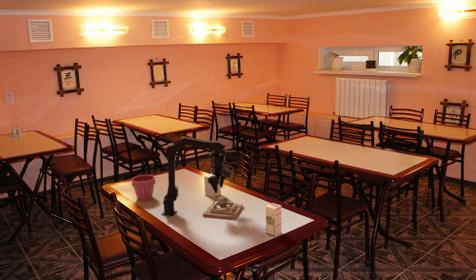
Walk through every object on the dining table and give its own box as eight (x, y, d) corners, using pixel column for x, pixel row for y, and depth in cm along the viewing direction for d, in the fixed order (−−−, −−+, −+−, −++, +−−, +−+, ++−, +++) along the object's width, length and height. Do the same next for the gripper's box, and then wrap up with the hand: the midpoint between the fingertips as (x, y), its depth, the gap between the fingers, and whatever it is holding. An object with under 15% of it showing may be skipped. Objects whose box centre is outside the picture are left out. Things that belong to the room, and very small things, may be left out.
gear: (228, 212, 236) (227, 201, 234) (214, 211, 238) (213, 200, 237) (232, 207, 244) (232, 196, 242) (218, 205, 246) (218, 195, 244)
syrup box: (282, 232, 213) (282, 205, 210) (274, 236, 209) (274, 208, 205) (272, 229, 217) (272, 202, 213) (265, 233, 212) (265, 205, 209)
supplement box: (221, 194, 269) (220, 175, 266) (212, 197, 264) (211, 178, 261) (213, 191, 274) (212, 173, 271) (204, 195, 269) (203, 175, 266)
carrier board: (234, 219, 230) (234, 213, 230) (202, 216, 235) (202, 210, 234) (243, 207, 247) (243, 201, 246) (213, 204, 252) (213, 199, 251)
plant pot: (140, 203, 257) (138, 183, 254) (128, 197, 267) (127, 178, 264) (160, 197, 266) (159, 178, 263) (149, 192, 276) (147, 173, 273)
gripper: (226, 169, 227) (227, 197, 230) (236, 160, 244) (237, 186, 247) (207, 167, 230) (207, 195, 233) (218, 158, 247) (219, 184, 250)
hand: (218, 190), depth 241 cm, fingers open, 9 cm apart
